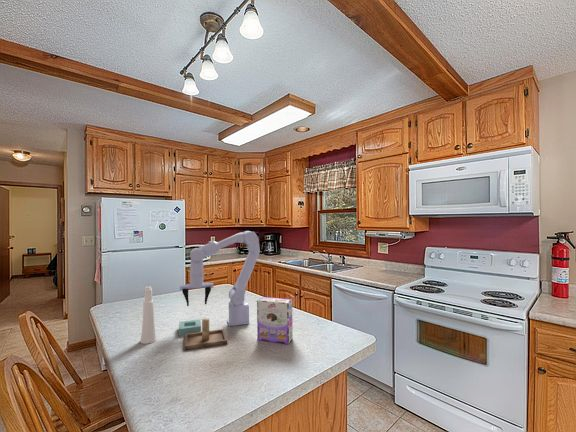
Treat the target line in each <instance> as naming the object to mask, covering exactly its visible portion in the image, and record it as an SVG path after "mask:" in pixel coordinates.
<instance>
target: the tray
mask: <svg viewBox="0 0 576 432" xmlns="http://www.w3.org/2000/svg"><path fill="white" fill-rule="evenodd" d="M228 340H229V339H228V338H227V334H226V331H225V328H220V329H213V330H209V340H207V341H203V340H202V331H201V332H196V333H189V334H185V336H184V351H191V350H197V349H199V350H200V349H205V348H211V347H216V346H217V347H218V346H224V345H229V344H228Z"/></svg>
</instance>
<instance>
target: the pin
mask: <svg viewBox="0 0 576 432" xmlns="http://www.w3.org/2000/svg"><path fill="white" fill-rule="evenodd" d="M209 331H210V318H208V317H207V318H203V319H202V320H201V332H202V340H203V341H207V340H209Z"/></svg>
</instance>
